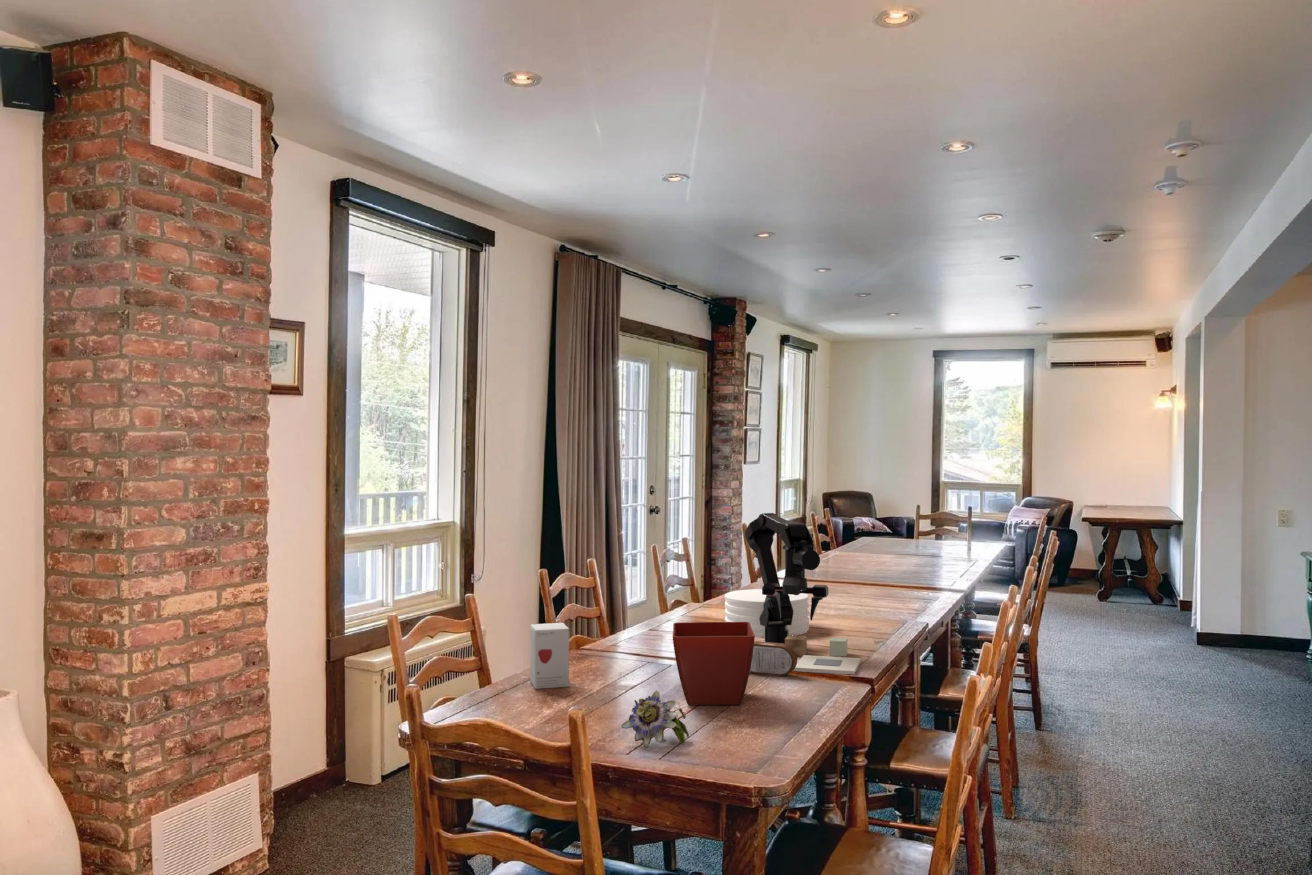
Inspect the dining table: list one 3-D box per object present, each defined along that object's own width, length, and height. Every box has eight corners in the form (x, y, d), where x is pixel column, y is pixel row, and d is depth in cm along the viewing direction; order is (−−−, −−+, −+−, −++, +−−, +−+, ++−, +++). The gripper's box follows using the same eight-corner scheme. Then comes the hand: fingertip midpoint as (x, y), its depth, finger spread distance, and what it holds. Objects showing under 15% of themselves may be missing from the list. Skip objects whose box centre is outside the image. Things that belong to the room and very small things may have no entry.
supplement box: (534, 689, 232) (533, 629, 233) (529, 681, 241) (529, 623, 241) (570, 686, 235) (569, 627, 235) (564, 678, 243) (563, 621, 244)
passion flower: (647, 772, 186) (611, 725, 186) (659, 746, 197) (625, 701, 197) (690, 746, 183) (654, 697, 183) (700, 720, 194) (666, 674, 194)
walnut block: (785, 656, 268) (784, 638, 268) (788, 652, 274) (788, 635, 274) (803, 657, 267) (803, 639, 267) (806, 653, 272) (806, 636, 272)
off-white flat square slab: (794, 671, 249) (794, 666, 249) (803, 658, 264) (803, 654, 264) (854, 674, 244) (854, 670, 244) (860, 661, 260) (860, 657, 260)
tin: (797, 675, 245) (797, 643, 245) (794, 678, 242) (793, 645, 242) (743, 670, 251) (743, 639, 251) (740, 672, 248) (739, 641, 248)
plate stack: (815, 637, 296) (814, 601, 296) (727, 637, 296) (727, 601, 297) (802, 621, 324) (801, 588, 324) (722, 621, 324) (722, 589, 325)
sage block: (829, 656, 268) (829, 640, 268) (831, 652, 272) (831, 637, 272) (845, 656, 266) (845, 641, 267) (847, 653, 271) (847, 638, 271)
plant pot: (674, 688, 232) (673, 621, 232) (750, 688, 231) (749, 620, 232) (673, 709, 213) (672, 636, 213) (756, 709, 212) (755, 635, 213)
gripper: (758, 568, 266) (758, 622, 266) (823, 570, 260) (823, 626, 260) (765, 563, 276) (766, 616, 276) (828, 565, 271) (829, 619, 270)
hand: (795, 619), depth 270 cm, fingers open, 9 cm apart
